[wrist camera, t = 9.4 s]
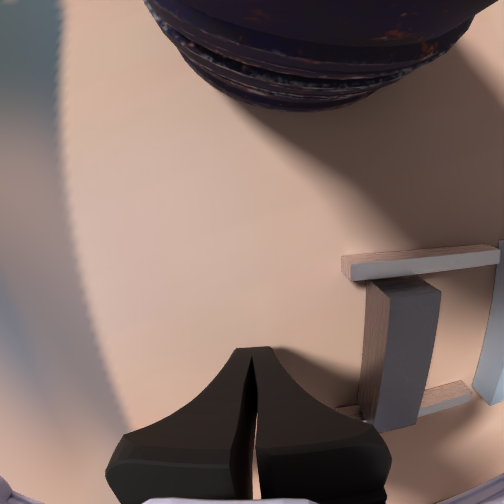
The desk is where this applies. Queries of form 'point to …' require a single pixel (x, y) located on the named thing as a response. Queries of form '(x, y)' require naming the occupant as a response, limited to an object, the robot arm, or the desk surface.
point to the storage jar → (310, 45)
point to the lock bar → (397, 349)
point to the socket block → (493, 344)
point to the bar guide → (411, 265)
